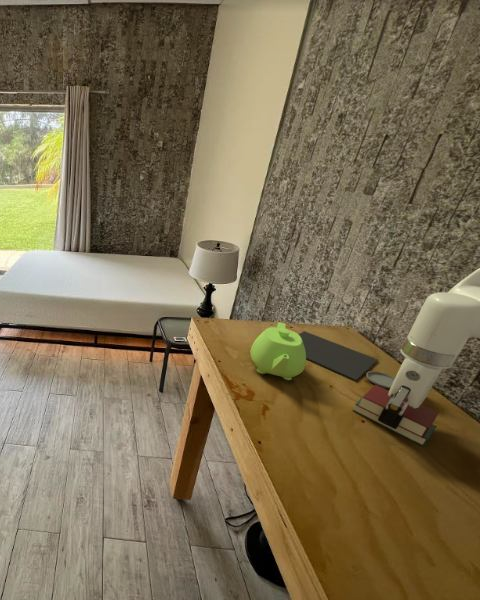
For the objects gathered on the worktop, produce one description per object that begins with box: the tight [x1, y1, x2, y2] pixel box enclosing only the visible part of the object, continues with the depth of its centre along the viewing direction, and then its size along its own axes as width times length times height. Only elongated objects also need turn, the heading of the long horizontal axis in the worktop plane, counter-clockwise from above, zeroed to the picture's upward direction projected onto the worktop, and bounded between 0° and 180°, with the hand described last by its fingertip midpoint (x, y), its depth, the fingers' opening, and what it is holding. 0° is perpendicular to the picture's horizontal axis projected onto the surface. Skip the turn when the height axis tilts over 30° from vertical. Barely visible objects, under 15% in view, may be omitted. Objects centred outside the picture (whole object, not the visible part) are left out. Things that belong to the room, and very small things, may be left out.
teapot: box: [249, 321, 307, 381], centre depth 88 cm, size 20×13×13 cm
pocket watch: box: [365, 370, 396, 390], centre depth 82 cm, size 8×8×10 cm
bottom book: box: [352, 396, 438, 448], centre depth 72 cm, size 12×6×2 cm, turn 33°
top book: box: [359, 384, 440, 438], centre depth 71 cm, size 11×7×3 cm
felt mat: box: [298, 330, 379, 382], centre depth 97 cm, size 20×16×1 cm
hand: (393, 416), depth 72 cm, fingers closed on top book, 7 cm apart
